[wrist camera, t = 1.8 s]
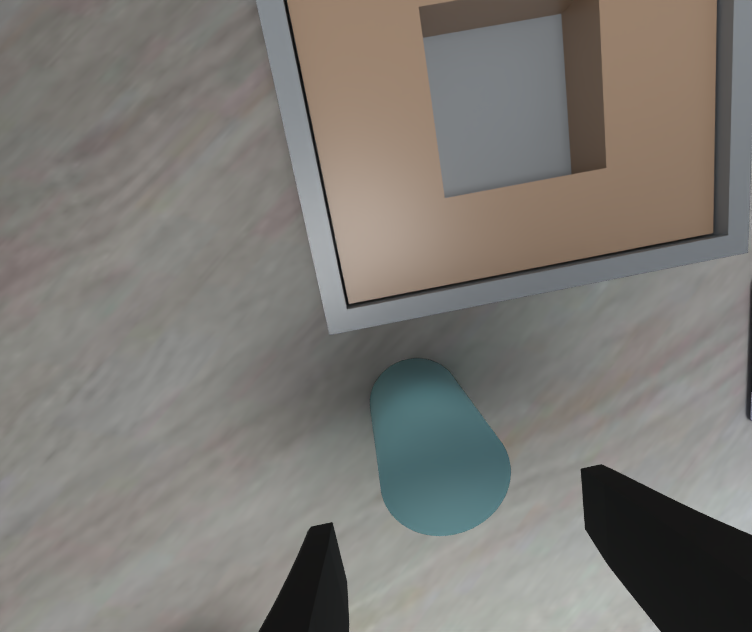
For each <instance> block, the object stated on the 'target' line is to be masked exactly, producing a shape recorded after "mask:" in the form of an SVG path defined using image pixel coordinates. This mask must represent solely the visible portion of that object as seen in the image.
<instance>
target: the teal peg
mask: <svg viewBox="0 0 752 632" xmlns="http://www.w3.org/2000/svg"><path fill="white" fill-rule="evenodd" d="M370 409H371V417H372V425H373V432H374V440H375V448H376V455H377V463H378V471H379V478H380V486H381V493H382V497H383V500H384V502H385V505H386V507H387V508H388V510H389V511H390V513H391V514H392V515H393V516H394V518H395V519H396V520H397V521H399V522H400V523H401V524H402V525H404V526H406V527H407V528H409V529H411V530H413V531H415V532H418V533H422V534H426V535H432V536H447V535H454V534H458V533H462V532H465V531H467V530H470V529H472V528H474V527H476V526H478V525H479V524H481V523H482V522H484V521H485V520H486V519H487V518H489V517H490V516H491V515H492V514H493V513H494V512H495V511H496V510H497V508H498V507H499V505H500V504H501V503H502V501H503V499H504V497H505V495H506V493H507V490H508V487H509V483H510V476H511V466H510V461H509V457H508V454H507V451H506V449H505V447H504V446H503V444H502V443H501V441H500V440H499V438H498V437H497V436H496V434H495V433H494V432H493V430H492V429H491V428H490V426H489V425H488V423H487V422H486V421H485V419H484V418H483V417H482V415H481V414H480V413H479V411H478V410H477V409H476V407H475V406H474V404H473V403H472V402H471V400H470V399H469V398H468V396H467V395H466V394H465V392H464V391H463V389H462V388H461V387H460V385H459V384H458V383H457V381H456V380H455V379H454V377H453V376H452V375H451V373H450V372H449V371H448V370H447V369H446V368H444V367H443V366H442V365H440V364H438V363H436V362H434V361H431V360H427V359H421V358H413V359H407V360H403V361H400V362H398V363H396V364H394V365H392V366H390V367H389V368H388V369H386V370H385V371H384V372H383V373H382V374H381V375H380V376H379V378H378V379H377V381H376V382H375V384H374V386H373V389H372V392H371V396H370Z"/></svg>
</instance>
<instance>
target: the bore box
mask: <svg viewBox="0 0 752 632" xmlns="http://www.w3.org/2000/svg"><path fill="white" fill-rule="evenodd" d="M256 3H257V7H258V12H259V16H260V21H261V26H262V30H263V35H264V39H265V44H266V48H267V53H268V57H269V62H270V67H271V71H272V76H273V80H274V85H275V89H276V94H277V98H278V103H279V107H280V112H281V117H282V121H283V126H284V130H285V135H286V139H287V144H288V148H289V153H290V158H291V162H292V167H293V171H294V176H295V180H296V185H297V189H298V194H299V199H300V203H301V208H302V212H303V217H304V221H305V226H306V230H307V235H308V240H309V244H310V249H311V253H312V258H313V262H314V267H315V271H316V276H317V280H318V285H319V290H320V294H321V299H322V303H323V308H324V312H325V317H326V321H327V326H328V331H329V335H333V334H338V333H343V332H348V331H353V330H358V329H363V328H368V327H373V326H378V325H383V324H388V323H394V322H399V321H404V320H409V319H414V318H419V317H424V316H429V315H434V314H439V313H444V312H449V311H454V310H460V309H465V308H470V307H475V306H480V305H485V304H490V303H495V302H500V301H505V300H510V299H515V298H520V297H526V296H531V295H536V294H541V293H546V292H551V291H556V290H561V289H566V288H571V287H576V286H581V285H586V284H592V283H597V282H602V281H607V280H612V279H617V278H622V277H627V276H632V275H637V274H642V273H647V272H652V271H658V270H663V269H668V268H673V267H678V266H683V265H688V264H693V263H698V262H703V261H708V260H713V259H718V258H724V257H729V256H734V255H739V254H744V253H748V238H749V211H750V183H751V156H752V0H256Z"/></svg>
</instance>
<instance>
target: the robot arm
mask: <svg viewBox="0 0 752 632" xmlns="http://www.w3.org/2000/svg"><path fill="white" fill-rule="evenodd" d="M751 421H752V394H751ZM581 479H582V493H583V507H584V521H585V530H586V531H587V533H588V534H589V536H590V538H591V539H592V541H593V542H594V544H595V546H596V547H597V549H598V550H599V552H600V554H601V555H602V557H603V558H604V560H605V561H606V563H607V564H608V566H609V567H610V568H611V570H612V571H613V572H614V573H615V575H616V576H617V577H618V579H619V580H620V581H621V582H622V584H623V585H624V586H625V587H626V589H627V590H628V591H629V592H630V594H631V595H632V596H633V597H634V599H635V600H636V601H637V602H638V604H639V605H640V606H641V607H642V609H643V610H644V611H645V612H646V614H647V615H648V616H649V617H650V619H651V620H652V621H653V622H654V624H655V625H656V626H657V627H658V629H659V630H660V631H661V632H752V535H750V534H748V533H746V532H743V531H741V530H739V529H736V528H734V527H732V526H730V525H727V524H725V523H723V522H720V521H718V520H716V519H714V518H711V517H709V516H707V515H705V514H703V513H700V512H698V511H696V510H694V509H692V508H690V507H688V506H686V505H683V504H681V503H679V502H677V501H675V500H673V499H671V498H669V497H667V496H665V495H663V494H661V493H659V492H657V491H655V490H653V489H651V488H649V487H647V486H645V485H643V484H641V483H639V482H637V481H635V480H633V479H631V478H629V477H627V476H625V475H623V474H621V473H619V472H617V471H615V470H613V469H611V468H608V467H606V466H604V465H602V464H601V465H596V466H591V467H587V468H582V469H581ZM259 632H349V609H348V590H347V579H346V575H345V571H344V567H343V563H342V559H341V555H340V551H339V547H338V543H337V539H336V535H335V531H334V526H333V522H331V523H326V524H322V525H317V526H312V527H311V528H310V529H309V530H308V532H307V534H306V537H305V539H304V542H303V544H302V546H301V549H300V551H299V553H298V555H297V558H296V560H295V562H294V564H293V566H292V568H291V571H290V573H289V575H288V577H287V579H286V581H285V583H284V585H283V587H282V589H281V591H280V593H279V595H278V597H277V599H276V601H275V603H274V605H273V607H272V608H271V610H270V612H269V614H268V616H267V617H266V619H265V621H264V623H263V625H262V626H261V628H260V630H259Z"/></svg>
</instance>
